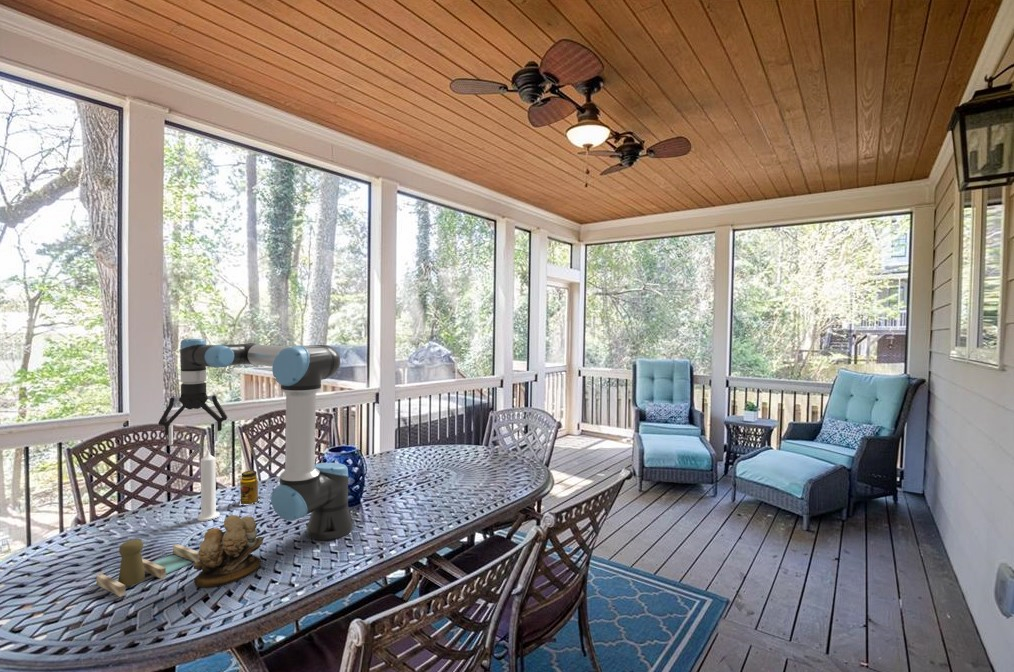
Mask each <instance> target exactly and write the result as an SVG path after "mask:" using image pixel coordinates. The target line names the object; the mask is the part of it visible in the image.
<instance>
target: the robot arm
mask: <svg viewBox="0 0 1014 672" xmlns="http://www.w3.org/2000/svg"><path fill="white" fill-rule="evenodd" d="M206 341H207V340H206V339H204V338H184V339H182V340H181V341H180V346H179V347H180V349H179V358H180V363H179V364H180V365H179V366H180V382H181V384H180V397H175V396H171V397H170V398H169V401H168V402H169V403H168V405H167V407H166V409H165V411H164V413H163V414H162V416H161V418H159V421H158V423H157V424H158V425H159V426H163V427H164V435H165V436H168V446H172V445H174V424H172V423H173V421H175V419H177V417H178V416H179V415H181V413H182V412H183V411H184V410H185V409H186V410H193V409H194V410H195V409H196V410H199V409H203V410H204V411H205V412H206V413H207V414H208V415H209V416H211V417H212V418H213V419H214V420H215V423H214V441H215V442H218V441H219V432H222V429H223V423H222V422H224V421H227V420H228V415H227V414H226V412H225V410H224V408H223V407H222V405H221V404H220V401H218V396H217V394H213V395H207V383H206V381H207V367H210V368H215V369H217V368H218V369H219V368H227V367H229V366H239V365H251V366H254V365H255V366H263V367H267V366H268V367H272V368H271V369H272V375H273V378H275V381H276V383H278V384H279V385H280V391H282V392H283V393H284V394H285V399H286V400H285V462H284V463H285V464H284V465H285V466H284V467H285V470H284V471H283V472H282V473H280V475H279V485H277V486H276V487H275V488H274V489H273V490H272V492H271V495H270V503H271V506H272V509H273V511H274V512H275V513H276V514H277V515H278V516H279V518H281V519H282V520H284V521H288V522H293V521H296V520H299V519H301V518H302V519H303V518H304V517H306V516H307V515H309V514H310V517H309V519H308V522H307V525H306V536H307V537H308V538H310V539H311V540H317V541H319V540H320V541H329V540H335V539H340V538H342V537H344V536H347V535H348V534H349V533H351V532H352V531H353V529H354V520H353V518H352V515H351V511H350V509H349V468H348V466H347V465H345V464H343V463H339V462H320V463H316V417H317V416H316V415H317V414H316V412H317V411H316V410H317V409H316V407H317V406H316V405H317V404H316V403H317V398H316V397H317V393H318V392H319V391H320V390H321V389H322V381H323V380H324V381H325V380H328V379H329V378H332V377H333V376H334V375H335V374H336V373H337V372H338V371H339V368H340V366H341V357H340V354H339V352H338V351H337V350H336V349H335V348H334V347H332V346H330V345H327V344H314V345H313V344H312V345H294V346H284V345H282V346H281V345H270V344H269V345H268V344H267V345H266V344H260V343H255V342H254V343H253V342H248V343H237V344H236V343H233V344H231V343H230V344H207V342H206ZM208 400H209V401H210V402H212V403H213V406H214V407H215V409H216V410H217V412H218V413H219V415H218V413H216V412H215V411H214V410H213V409H212V408H211V407H210V406H209V405H208V404H207V403H206V402H207V401H208ZM178 402H179V403H180V404H182V405H181V406H180V407H179V408H178V410H177V411H175V413H174V414H173V415H171V417H170V418H169V419H168V420H167V421H166V419H167V418H168V416H169V414H170V413H171V411H172V409H173V407H174V405H175V404H177V403H178Z"/></svg>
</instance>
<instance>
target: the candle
mask: <svg viewBox="0 0 1014 672" xmlns="http://www.w3.org/2000/svg"><path fill="white" fill-rule="evenodd" d="M216 467H217V466H216V457H215V456H213V455H212V454H211V452H210V449H207V450H206V454H205V456H203V457H202V458H201V459H200V514H199V515H197V517H196V520H197V521H199V522H208V520H210V521H212V519H213V520H216V519H218V518H219V517H220V514H221V513H220V512H219V511H217V509H216V508H217V505H216V504H217V503H216V502H217V501H216V494H217V493H216V492H217V489H216V481H217V479H216V477H217V476H216V474H217V473H216ZM217 517H218V518H217ZM215 518H216V519H215Z"/></svg>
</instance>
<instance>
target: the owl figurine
mask: <svg viewBox="0 0 1014 672" xmlns="http://www.w3.org/2000/svg"><path fill="white" fill-rule="evenodd" d="M223 528H224V529H225V532H224V531H222V529H220V528H218V527H213V528H210V529H208V530H207V531H206V532H205V533H204V537H203V540H202V541H201V542H200V544H199V550H198V551H197V552H198V554H199V555H198V559H199V560H200V561H198V562H194V563H193V566H192V569H193V570H197V571H199V570H201V571H200V572H199V573H198V574H197V575H196V577H195V578H194V581H193V582H194V583H193V584H194V585H195V587H196V588H200V589H213V588H218V587H221V586H222V587H223V586H226V585H230V584H232V583H235V582H238V581H240V580H243V579H245V578H247V577H249V576H251V575H253V574H255V572H257V571H258V570H259V569H260V568H261V565H262V560H261V559H260V557H257V556H255V555H253V553H255V551H257V550H258V549H260V547H261V545H263V543H264V542H263V539H264V537H263V536H258V537H257V535H258V530H257V529H256V528H257V523H256V520H255V519H254V517H252V516H250V515H247V516H243V517H240V516H239V515H235V514H231V515H229V516H227V517H226V518H225V519H224V520H223Z"/></svg>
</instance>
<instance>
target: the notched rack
mask: <svg viewBox="0 0 1014 672" xmlns="http://www.w3.org/2000/svg"><path fill="white" fill-rule="evenodd" d="M172 550H173V551H172V552H173V553H172V554H170V555H168V556H166V557H162V558H161V559H158V560H155V561H150V560H147V559H145V558H143V557H142V561H143V567H144V572H145V573H148V574H150V575H152V576H154V577H156V578H159V579H164V578H166V577H167V576H166V575H168V574H171V573H174V572H175V571H177V570H178V571H179V570H180V569H183V568H185V567H187V566H189V565H191V564H193V563H196V562H198V561H200V560H199V559H198V555H199V554H198V552H199V551H198V550H194V549H191V548H188V547H187V546H184V545H181V544H178V543H176V544H174V545H173V546H172ZM95 579H96V586H98V587H100V588H102V589H104V590H106V591H108V592H110V593H112V594H113V595H116V596H117V597H120V598H122V597H123V596H125V595H126V587H125V585H124V584H122V583H120V582H118V580H116V579H113V578H112V577H110V576H108V575H105V574H104V573H100V574H97V575H96V578H95Z"/></svg>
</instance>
